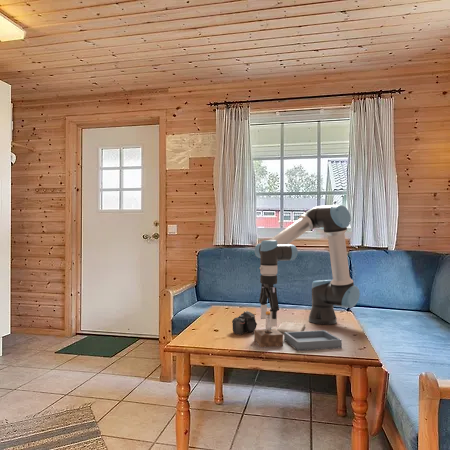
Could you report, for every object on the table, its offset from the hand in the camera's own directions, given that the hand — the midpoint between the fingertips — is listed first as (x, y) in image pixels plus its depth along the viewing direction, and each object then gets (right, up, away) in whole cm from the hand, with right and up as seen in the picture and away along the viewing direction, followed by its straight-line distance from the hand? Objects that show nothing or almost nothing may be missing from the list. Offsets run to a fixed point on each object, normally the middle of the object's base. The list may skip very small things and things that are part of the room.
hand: (268, 322), depth 165 cm
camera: (-9, -10, +19) cm, 23 cm away
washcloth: (+15, -11, +23) cm, 29 cm away
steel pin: (0, -9, 0) cm, 9 cm away
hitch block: (0, -9, 0) cm, 9 cm away
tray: (+19, -9, 0) cm, 21 cm away
